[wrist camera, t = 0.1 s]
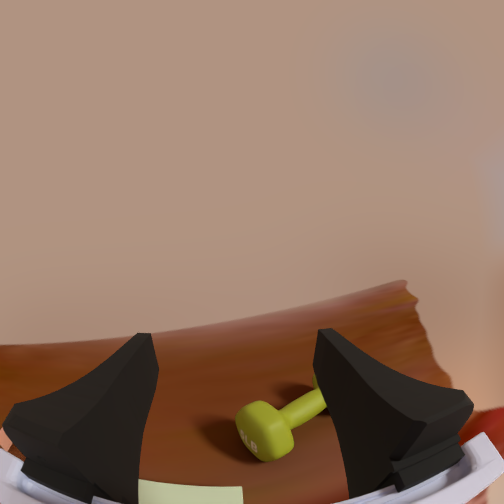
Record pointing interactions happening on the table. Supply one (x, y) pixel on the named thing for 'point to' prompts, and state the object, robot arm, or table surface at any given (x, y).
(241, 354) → the table surface
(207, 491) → the pale green box
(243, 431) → the dumbbell
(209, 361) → the table surface
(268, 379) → the table surface
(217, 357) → the table surface
